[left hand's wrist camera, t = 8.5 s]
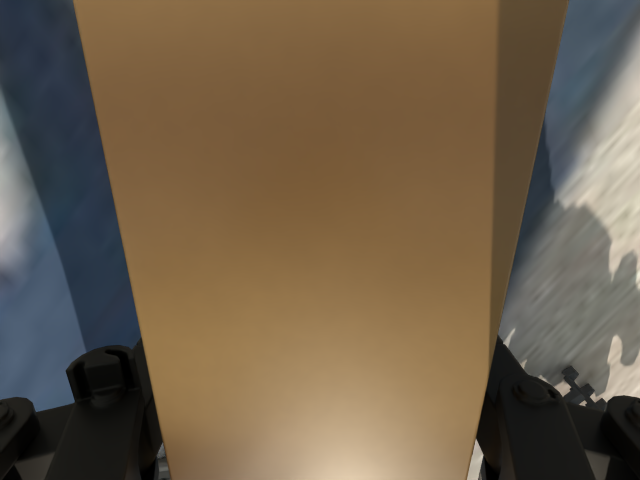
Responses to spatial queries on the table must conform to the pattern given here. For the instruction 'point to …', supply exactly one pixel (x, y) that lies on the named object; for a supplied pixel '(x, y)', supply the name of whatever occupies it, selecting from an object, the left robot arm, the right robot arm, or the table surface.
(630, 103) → the table surface
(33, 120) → the table surface
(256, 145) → the beam
